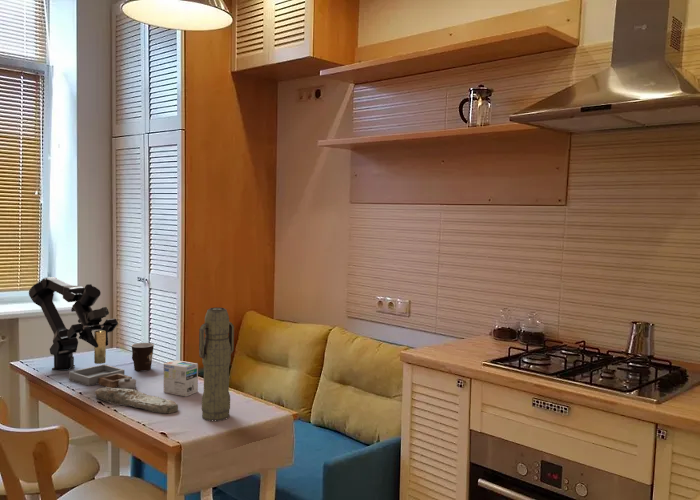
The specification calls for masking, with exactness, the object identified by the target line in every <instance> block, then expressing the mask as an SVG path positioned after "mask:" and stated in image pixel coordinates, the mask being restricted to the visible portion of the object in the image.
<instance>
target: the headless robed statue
mask: <svg viewBox="0 0 700 500" xmlns="http://www.w3.org/2000/svg"><path fill="white" fill-rule="evenodd" d="M198 331H199V333H198V353H199V354H198V355H199V358H201V359H202V360H201V361H202V362H201V363H202V365H203V393H202V395H201V412H202V413H201V417H202V420H204V419H205V420H204V421H207V420H210V421H209V422H218V421H217V420H221V421H224V420H223V419H225V420H227V419H229V418H230V410H231V393H230V392H229V391H230V390H229V388H230V386H229V384H230V364H231V361H232V360H231V357H232V353H234V350H235V349H234V348H235V345H234V344H235V339H234V338H235V326H234V324H233V323H232V322H230V317H229V312H228V310H227V309H226V308H224V307H210V308H209V309H207V311H206V313H205V316H204V323H202V324H201V325H200V327H199V329H198ZM228 417H229V418H228ZM226 418H227V419H226ZM212 420H213V421H212ZM215 420H216V421H215Z"/></svg>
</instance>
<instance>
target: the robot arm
mask: <svg viewBox="0 0 700 500" xmlns="http://www.w3.org/2000/svg"><path fill="white" fill-rule="evenodd" d="M54 293H58V294H60V295H61V296H62V299H63V300H64V301H66V302H67V303H73V302H74V304H72V307H71V310H70V311H71V312H72V313H73V312H75V315H76V316H77V317H78V320H77V322H78V323H76V324H71V326H70V327H69V328H67V327H66V325H65V323H64V321H63V319H62V317H61V316H60V313H59V311H58V309H57V307H56V306H55V303H54V301H53V299H54V295H55V294H54ZM28 295H29V297H30V299H31V301H32V302H33V303H34V304H36V305H37V306H39V308H40V309H41V311H42V313H43V314H44V316H45V319H46V321H47V323H48V324H49V327H50V330H52V333H53V338H52V345H51V346H50V347H49V355H51V356H53V367H52V368H51V370H54V371H55V370H56V371H68V370H71V369H72V368H75V367H76V365H75V363H74V362H75V357H74V356H73V354H74V353H77V350H78V345H79V341H78V339H79V340H82V341H84V342H86V343H87V344H89V345H91V346H92V347H96V348H97V347H98V345H97V342H96V340H95V338H94V335H93V332H95V331H98V330H104V331H106V347H107V346H108V345H109V336H108V333H111V332H113V331H114V330H115V329H116V327H117V326H118V325H119V322H118V320H117V318H108V319H105V321H104V322H103V323H102V321H103V318H106V317H107V316H108V315H109V314H110V312H109V309H108V308H107V307H106V306H103V307H101V308H97V309H94V310H93V308H92V306H94V305H95V304H96V302H97V301H98V299H99V298H100V296H101V289H99V288H97V287H95V286H93V285H92V283H88V284H85V287H84V286H83V285H82V286H81V285H72V284H69V283H67V282H64V281H63V280H60V279H58V278H57V277H55V276H49V277H43V278H42V279H41V280H40V281H39V282H37V283H35V284H33V285H32V286H31V288H30V289H29V290H28ZM78 334H79V335H78Z"/></svg>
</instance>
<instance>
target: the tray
mask: <svg viewBox="0 0 700 500" xmlns="http://www.w3.org/2000/svg"><path fill="white" fill-rule="evenodd" d="M117 373H119V374H123V375H125V369H123V368H119V367H116V366H111V365H108V364H105V363H102V364H98V365H94V366H90V367H85V368H80V369H76V370H71V371H68V379H69V380H70V381H72V382H76V383H78V384H82V385H85V386H87V387H90V386H96V385H99V378H100V377H104V376H108V375H113V374H117Z"/></svg>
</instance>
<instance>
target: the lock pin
mask: <svg viewBox="0 0 700 500" xmlns="http://www.w3.org/2000/svg"><path fill="white" fill-rule="evenodd" d="M93 332H94V335H93V336H94V338H95V340H96V342H97V345H98V347H97V348H96V347H94V346H93V347H94V352H93V353H94V357H93V360H94V364H96V365H97V364H98V365H103V364H105V363H106V362H107V359H106V358H107V357H106V356H107V355H106V351H107V346H106V331H104V330H94V331H93Z"/></svg>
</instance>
